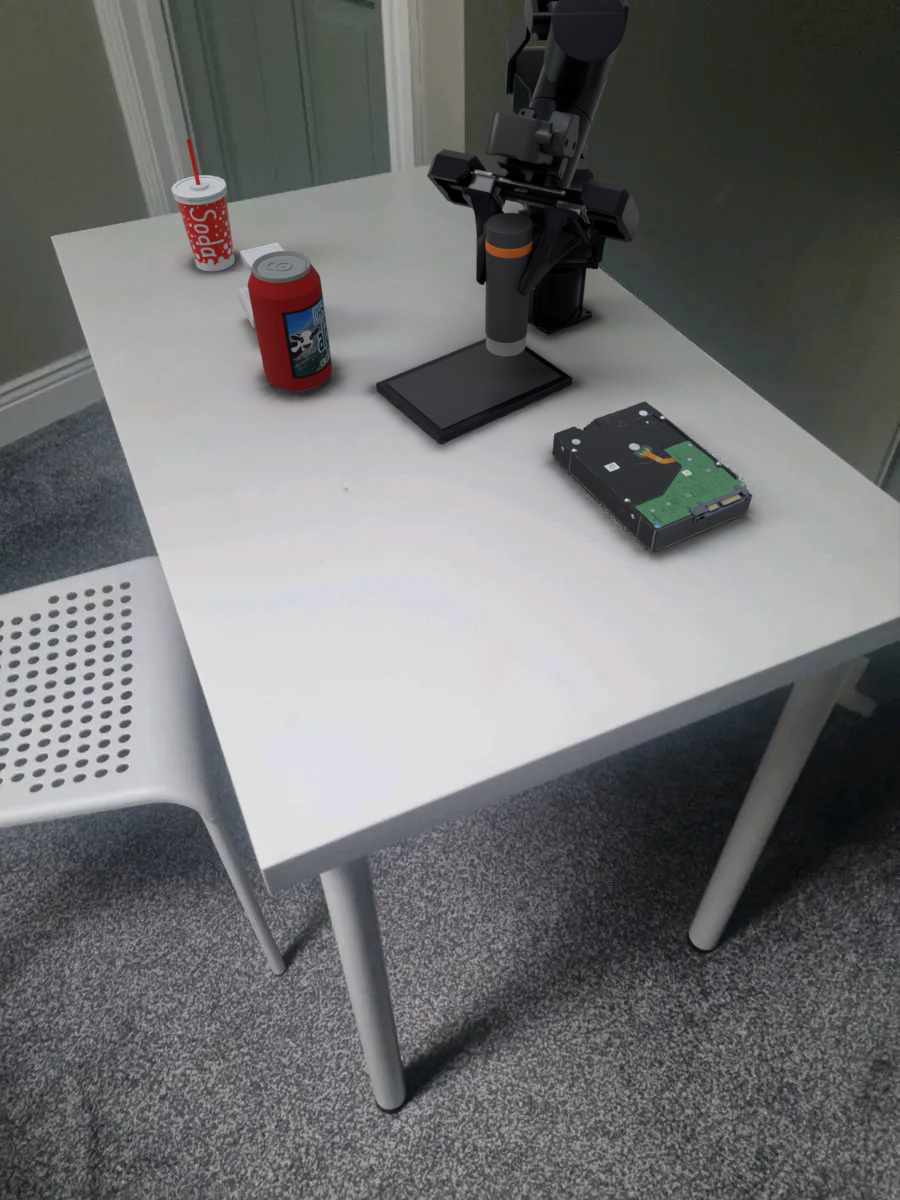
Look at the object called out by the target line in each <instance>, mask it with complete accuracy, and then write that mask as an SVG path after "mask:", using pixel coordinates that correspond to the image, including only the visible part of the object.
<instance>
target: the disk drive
mask: <svg viewBox="0 0 900 1200" xmlns="http://www.w3.org/2000/svg"><path fill="white" fill-rule="evenodd" d="M552 440H553V442H552V451H551V452H552V453H551V455H552V456H553V457H555V458H556V461H557V462H558V463H559V464H560V465H561V466H562V467H563V468H564V469H565V470H566V471H567V472H568V473H569V474H570V475H571V476H572V477H573V478H575V479H576V481H577V482H578V483H580V485H582V486H583V487H584V489H586V490H587V492H589V493H590V494H591V495H592V496H593V497H594V498H595V499H596V500H597V501H598V502H599V503H601V504H602V505H603V506H604V507H605V509H606V510H607V511H608V512H609V513H610V514H611V515H612V516H613V517H614V518H615V519H616V520H617V521H618V522H620V523H621V525H623V526H624V527H625V528H626V529H627V531H629V532H630V534H631V535H633V537H635V538H636V539H637V540H638V541H639V542H640V543H641V544H642V545H644V547H646V548H648V549H649V551H650V552H656V551H657V550H659V549H663V548H667V547H669V546H671V545H674V544H677V543H678V542H679V543H680V542H681V541H683V540H685V539H688V538H691V537H692V536H695V535H698V534H700V533H702V532H704V531H707V530H709V529H711V528H714V527H717V526H719V525H721V524H724V523H725V522H728V521H730V520H732V519H735V518H737V517H739V516H741V515H742V514H744V513H747V512H748V511H749V507H750V505H751V503H752V502H751V501H752V498H753V494H752V493H751V492H750V490H749V489H747V488H748V485H747V484H746V483H744V482H743V481H742V480H741V479H740V477H739V476H738V474H736V473H735V472H734V471H732V469H730V468H729V467H727V465H726V466H725V464H723V463H722V462H720V461H719V460H718V458H716V457H715V456H714V455H713V454H712V453H710V452H709V451H708V450H707V449H705V448H704V447H702V445H700V443H698V442H697V441H696V440H694V439H693V438H691V437H690V436H689V435H688V434H687V433H686V432H684V431H683V430H682V429H681V428H680V427H678V426H677V425H676V424H674V422H672V421H671V420H670V419H669V418H667V417H666V416H665V415H664V414H663V413H662V412H661V411H660V410H658V409H656V407H654V406H652V405H651V404H649V402H647V401H641V402H639V403H635V404H633V405H630V406H628V407H626V408H623V409H620V410H616V411H614V412H611V413H607V414H605V415H602V416H598V417H596V418H594V419H593V420H592V421H590V423H588V424H587V425H586V426H584V427H583V428H582V429H581V428H578V427H576V426H571V427H569V428H565V429H563V430H560V431H558V432H555V433H554V434H553V439H552Z"/></svg>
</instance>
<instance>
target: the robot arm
mask: <svg viewBox="0 0 900 1200" xmlns="http://www.w3.org/2000/svg"><path fill="white" fill-rule="evenodd" d="M629 8H630V7H629V3H628V1H627V0H524V11H523V13H522V15H521V16H520V17H519V18H518V20H517V21H516V23H515V24H514V25H513V27H512V28H511V30H509V32H508V33H507V36H506V45H505V46H506V47H505V63H504V93H505V95H510V103H511V108H512V109H511V110H512V112H513V114H512V113H511V114H510V113H505V112H499V111H492V112H491V115H490V121H489V127H488V132H487V137H486V144H485V149H484V154H485V155H488V156H495V157H497V159H496V164H497V165H498V166H499V168H500V169H504V170H505V171H506V173H505V175H502V174H498V173H493V172H490V171H488V170H487V169H486V167H485V166H484V164H483V163H482V161H481V160H480V159H479V157H478V155H476V154H471V153H466V152H460V151H457V150H451V149H445V148H443V149H442V150H440V151H439V152H438V153H436V154H435V155H434V156H433V158H432V161H431V162H430V165H429V169H428V172H427V175H426V177H427V178H428V179H429V181H430V182H431V183H432V184H433V185H434V186H435V188H436V189H437V190H438V191H439V193H440V194H441V195H442V196H443V198H444V199H445V200H446V201H447V202H450V203H451V204H453V205H456V206H460V207H466V208H469V209H472V210H473V213H474V221H475V231H476V232H475V233H476V254H475V255H476V256H475V257H476V258H475V259H476V260H475V261H476V262H475V266H476V267H475V268H476V270H475V279H476V280H475V281H476V283H477V284H478V285H480V286H484V285H485V284H486V248H485V247H486V222H487V220H488V219H489V218H490V217H492V216H494V215H497V214H502V213H505V212H504V211H503V208H504V206H505V204H506V202H507V201H508V202H511V203H512V202H513V203H516V204H517V203H518V204H522V205H523V209H518V210H517V214H522V215H525V216H527V217H529V218H530V219H531V220H532V223H533V226H532V249H531V257H530V260H529V262H528V265H527V267H526V269H525V272H524V275H523V278H522V282H521V285H520V289H519V293H520V294H521V295H522V296H526V295H527V294H528V293H529V307H528V325H531V326H532V327H534V328H535V329H537V330H539V331H540V332H541V333H543V334H545V335H553V334H555V333H557V332H560V331H562V330H565V329H568V328H569V327H572V326H574V325H576V324H579V323H582V322H584V321H586V320H588V319H591V318H592V317H593V311H592V310H591V309H589V308H587V307H585V306H584V299H585V288H586V277H587V269H588V270H589V269H590V270H598V269H599V265H600V263H601V262H602V261H603V258H604V257H603V256H604V247H605V245H606V240H607V239H608V240H613V241H617V242H621V243H626V244H627V243H631V242H633V240H634V236H635V234H636V231H637V228H638V225H639V221H640V212H639V209H638V207H637V204H636V202H635V200H634V197H633V194H632V192H631V191H630V188H629V186H628V185H626V184H621V183H616V182H612V181H607V180H602V179H597V178H595V177H594V173H593V172H592V171H591V170H590V168H577V167H578V164H579V162H580V160H581V159H582V160H585V159H586V156H587V153H588V150H589V145H588V144H587V142H586V141H587V139H588V136H589V132H590V130H591V127H592V124H593V121H594V118H595V116H596V113H597V111H598V107H599V105H600V101H601V99H602V96H603V93H604V90H605V87H606V84H607V81H608V79H609V76H610V73H611V71H612V69H613V65H614V63H615V60H616V57H617V55H618V52H619V50H620V47H621V43H622V40H623V38H624V36H625V33H626V27H627V23H628V19H629V18H628V17H629ZM531 35H532V36H533V38H534V39H535V40H536V41H539V42H540V41H546V44H545V46H544V45H543V46H542V45H541V46H538V45H537V46H527V45H528V43H529V42H530V40H531Z"/></svg>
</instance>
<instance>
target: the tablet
mask: <svg viewBox="0 0 900 1200" xmlns="http://www.w3.org/2000/svg"><path fill="white" fill-rule="evenodd" d="M572 385H573V377H572V376H571V375H569V374H568V373H566V372H565V371H563V369H560V368H559V367H558V366H556V365H554V364H553V363H552V362H550V361H549V360H548V359H546V358H544V357H542V356H541V354H538V353H537V352H535V351H534V350H532V348H529V346H527V345H526V346H525V349H524V350H523V351H522V352H521V353H519V354H517V355H514V356H498V355H495V354H492V353H491V352H489V351H488V349H487V348H486V338H483V339H482V340H479V341H476V342H473V343H471V344H469V345H466V346H465V347H462V348H459V349H456V350H454V351H452V352H450V353H447V354H443V355H442V356H439V357H437V358H435V359H432V360H429V361H427V362H425V363H422V364H420V365H418V366H415V367H412V368H410V369H407V370H405V371H403V372H400V373H398V374H395V375H393V376H390V377H388V378H386V379H382V380H380V381H378V382H376V383H375V388H376V389H375V390H376V391H377V392H378V393H380V394H381V396H383V397H384V398H385V399H387V400H388V401H389V402H390V403H391V404H392V405H393V406H395V407H396V408H397V409H398V410H400V412H402V413H403V414H404V415H406V417H408V419H410V420H411V421H412V422H414V423H415V424H416V425H417V426H418V427H419V428H421V430H423V431H424V432H426V434H428V435H429V436H430V437H431V438H433V439H434V441H436V442H437V443H438V444H440V445H441V444H444V443H446V442H448V441H450V440H453V439H455V438H457V437H460V436H461V435H464V434H466V433H468V432H470V431H473V430H475V429H476V428H477V429H478V428H479V427H481V426H483V425H486V424H488V423H490V422H492V421H495V420H497V419H500V418H501V417H503V416H505V415H508V414H510V413H512V412H515V411H516V410H519V409H521V408H523V407H525V406H528V405H529V404H533V403H534V402H536V401H538V400H541V399H543V398H545V397H547V396H549V395H552V394H554V393H556V392H559V391H561V390H563V389H565V388H567V387H569V386H572Z"/></svg>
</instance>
